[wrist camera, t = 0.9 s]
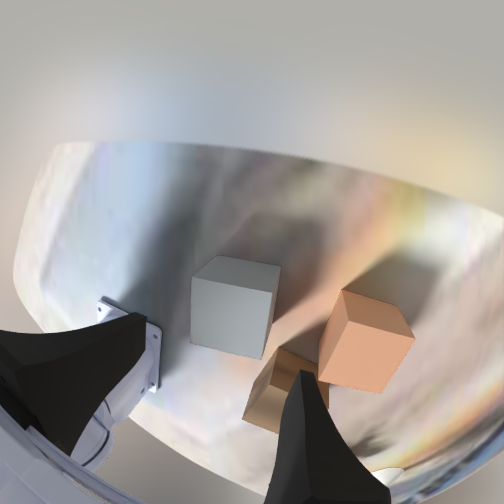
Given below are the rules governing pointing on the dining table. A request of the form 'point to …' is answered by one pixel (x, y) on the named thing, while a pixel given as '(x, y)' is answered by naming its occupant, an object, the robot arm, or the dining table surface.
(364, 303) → the terracotta block
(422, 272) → the dining table surface
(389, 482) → the champagne flute
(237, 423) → the dining table surface
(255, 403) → the walnut block
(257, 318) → the slate grey block
